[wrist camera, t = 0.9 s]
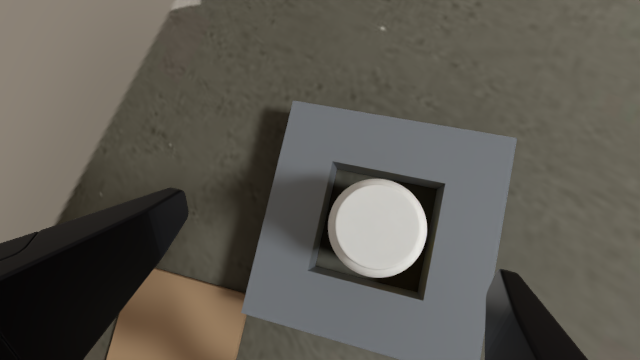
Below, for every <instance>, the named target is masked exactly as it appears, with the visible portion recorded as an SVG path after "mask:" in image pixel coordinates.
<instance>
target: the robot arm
mask: <svg viewBox="0 0 640 360" xmlns="http://www.w3.org/2000/svg"><path fill="white" fill-rule="evenodd" d="M187 217H188V206H187V201H186V196H185V193H184V191H182V190H180V189H175V188H167V189H164V190H161V191H158V192H155V193H152V194H149V195H146V196H143V197H140V198H137V199H134V200H131V201H128V202H125V203H122V204H119V205H116V206H113V207H110V208H107V209H104V210H101V211H98V212H95V213H92V214H89V215H86V216H83V217H80V218H77V219H74V220H71V221H68V222H65V223H62V224H58V225H55V226H52V227H49V228H46V229H43V230H41V231H39V232H34V233H32V234H28V235H25V236H23V237H19V238H16V239H13V240H10V241H6V242H3V243H0V360H83V359H84V358H85V356H86V355H87V354H88V353H89V351H90V350H91V349H92V348H93V346H94V345H95V344H96V342H97V341H98V340H99V339H100V337H101V336H102V335H103V333H104V332H105V331H106V330H107V328H108V327H109V326H110V324H111V323H112V322H113V321H114V319H115V318H116V317H117V315H118V314H119V313H120V312H121V310H122V309H123V308H124V307H125V305H126V304H127V303H128V301H129V300H130V299H131V298H132V296H133V295H134V294H135V292H136V291H137V290H138V289H139V287H140V286H141V285H142V283H143V282H144V281H145V280H146V278H147V277H148V276H149V274H150V273H151V272H152V271H153V269H154V268H155V267H156V266H157V264H158V263H159V261H160V260H161V259H162V257H163V256H164V254H165V253H166V251H167V250H168V248H169V247H170V245H171V243H172V242H173V240H174V239H175V237H176V235H177V234H178V232H179V231H180V229H181V227H182V226H183V224H184V223H185V221H186V219H187ZM485 360H588V359H587V358H586V357H585V355H584V354H583V353H582V352H581V350H580V349H579V348H578V347H577V345H576V344H575V343H574V342H573V341H572V339H571V338H570V337H569V336H568V334H567V333H566V332H565V331H564V330H563V328H562V327H561V326H560V325H559V323H558V322H557V321H556V320H555V318H554V317H553V316H552V315H551V314H550V312H549V311H548V310H547V309H546V307H545V306H544V305H543V304H542V303H541V301H540V300H539V299H538V298H537V296H536V295H535V294H534V293H533V291H532V290H531V289H530V288H529V287H528V285H527V284H526V283H525V282H524V280H523V279H522V278H521V277H520V276H519V275H518V274H517V273H515V272H512V271H508V270H504V269H500V270H498V271H497V272H496V274H495V276H494V278H493V280H492V282H491V284H490V286H489V289H488V291H487V295H486V315H485Z"/></svg>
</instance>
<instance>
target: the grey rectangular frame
mask: <svg viewBox="0 0 640 360" xmlns="http://www.w3.org/2000/svg"><path fill="white" fill-rule="evenodd" d="M516 141H517V138H513V137H507V136H501V135H495V134H489V133H483V132H477V131H471V130H465V129H459V128H453V127H447V126H441V125H435V124H429V123H424V122H418V121H412V120H406V119H400V118H394V117H388V116H382V115H376V114H370V113H364V112H358V111H352V110H346V109H340V108H334V107H328V106H322V105H316V104H310V103H304V102H298V101H293V103H292V107H291V111H290V115H289V119H288V124H287V128H286V132H285V136H284V140H283V144H282V148H281V152H280V156H279V160H278V164H277V168H276V172H275V177H274V181H273V185H272V189H271V193H270V197H269V201H268V205H267V209H266V213H265V217H264V221H263V225H262V230H261V234H260V238H259V242H258V246H257V250H256V254H255V258H254V262H253V266H252V270H251V274H250V279H249V283H248V287H247V291H246V295H245V299H244V303H243V307H242V311H241V313H243V314H247V315H250V316H253V317H257V318H260V319H264V320H267V321H270V322H274V323H277V324H281V325H284V326H287V327H291V328H294V329H298V330H301V331H304V332H308V333H311V334H315V335H318V336H321V337H325V338H328V339H332V340H335V341H339V342H342V343H345V344H349V345H352V346H356V347H359V348H362V349H366V350H369V351H373V352H376V353H379V354H383V355H386V356H390V357H393V358H396V359H400V360H480V356H481V350H482V344H483V338H484V332H485V315H486V295H487V291H488V289H489V286H490V284H491V282H492V280H493V278H494V272H495V266H496V261H497V255H498V249H499V243H500V237H501V231H502V225H503V219H504V213H505V207H506V201H507V195H508V189H509V183H510V177H511V171H512V165H513V159H514V153H515V147H516ZM337 169H340V170H345V171H350V172H355V173H360V174H365V175H370V176H375V177H380V178H385V179H390V180H395V181H400V182H405V183H410V184H415V185H420V186H425V187H430V188H434V189H437V192H436V197H435V203H434V208H433V213H432V218H431V224H430V229H429V234H428V239H427V245H426V250H425V255H424V260H423V266H422V271H421V276H420V281H419V287H418V292H414V291H410V290H406V289H402V288H398V287H394V286H390V285H387V284H383V283H379V282H375V281H371V280H367V279H363V278H359V277H355V276H351V275H348V274H344V273H340V272H336V271H332V270H328V269H324V268H320V267H316V266H315V265H316V260H317V256H318V252H319V247H320V243H321V238H322V234H323V229H324V225H325V220H326V216H327V212H328V207H329V203H330V198H331V194H332V189H333V185H334V180H335V176H336V172H337Z"/></svg>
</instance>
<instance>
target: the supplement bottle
mask: <svg viewBox="0 0 640 360" xmlns="http://www.w3.org/2000/svg"><path fill="white" fill-rule="evenodd" d="M328 234H329V239H330V243H331V246H332V248H333V250H334V252H335V253H336V255H337V256H338V258H339V259H340V260H341V261H342V262H343V263H344V264H345V265H346V266H347V267H348V268H350V269H351V270H353V271H354V272H356V273H358V274H361V275H364V276H367V277H374V278H383V277H390V276H393V275H396V274H398V273H401V272H402V271H404V270H406V269H407V268H408V267H410V266H411V265H412V264H413V263H414V262H415V261H416V259H417V258H418V257H419V255H420V254H421V252H422V250H423V247H424V244H425V241H426V236H427V222H426V217H425V213H424V211H423V208H422V206H421V204H420V203H419V201H418V200H417V199H416V197H415V196H414V195H413V194H412V193H411V192H410V191H409V190H408V189H406V188H405V187H403V186H402V185H400V184H398V183H396V182H393V181H390V180H385V179H367V180H363V181H360V182H357V183H355V184H353V185H351V186H350V187H348V188H347V189H345V190H344V191H343V192H342V193H341V194H340V195H339V196H338V198H337V199H336V201H335V202H334V204H333V206H332V209H331V212H330V215H329V220H328Z"/></svg>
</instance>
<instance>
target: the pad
mask: <svg viewBox="0 0 640 360" xmlns="http://www.w3.org/2000/svg"><path fill="white" fill-rule="evenodd" d="M245 295H246V293H242V292H239V291H235V290H232V289H228V288H224V287H221V286H217V285H214V284H210V283H207V282H203V281H200V280H196V279H193V278H189V277H185V276H182V275H178V274H175V273H171V272H168V271H164V270H161V269H157V268H154V269H153V271H152V272H151V273H150V274H149V276H148V277H147V278H146V280H145V281H144V282H143V283H142V285H141V286H140V287H139V289H138V290H137V291H136V292H135V294H134V295H133V296H132V298H131V299H130V300H129V301H128V303H127V304H126V305H125V307H124V308H123V309H122V310H121V312H120V313H119V317H118V320H117V324H116V327H115V331H114V334H113V338H112V341H111V345H110V349H109V352H108V356H107V359H106V360H236V357H237V353H238V349H239V345H240V341H241V337H242V333H243V328H244V324H245V320H246V316H247V314H243V313H241V311H242V307H243V303H244V299H245Z"/></svg>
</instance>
